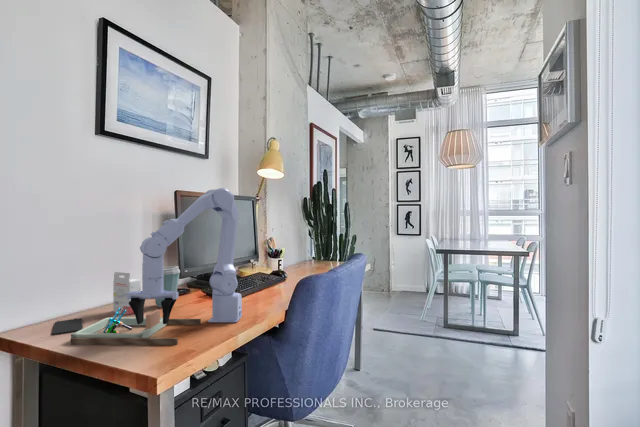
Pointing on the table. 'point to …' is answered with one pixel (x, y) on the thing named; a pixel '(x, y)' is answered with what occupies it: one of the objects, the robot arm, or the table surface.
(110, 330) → the stick construction toy
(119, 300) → the ink cartridge box
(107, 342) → the guide rails
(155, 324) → the open rectangular frame
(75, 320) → the phone
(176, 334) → the table surface
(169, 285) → the disposable coffee cup
